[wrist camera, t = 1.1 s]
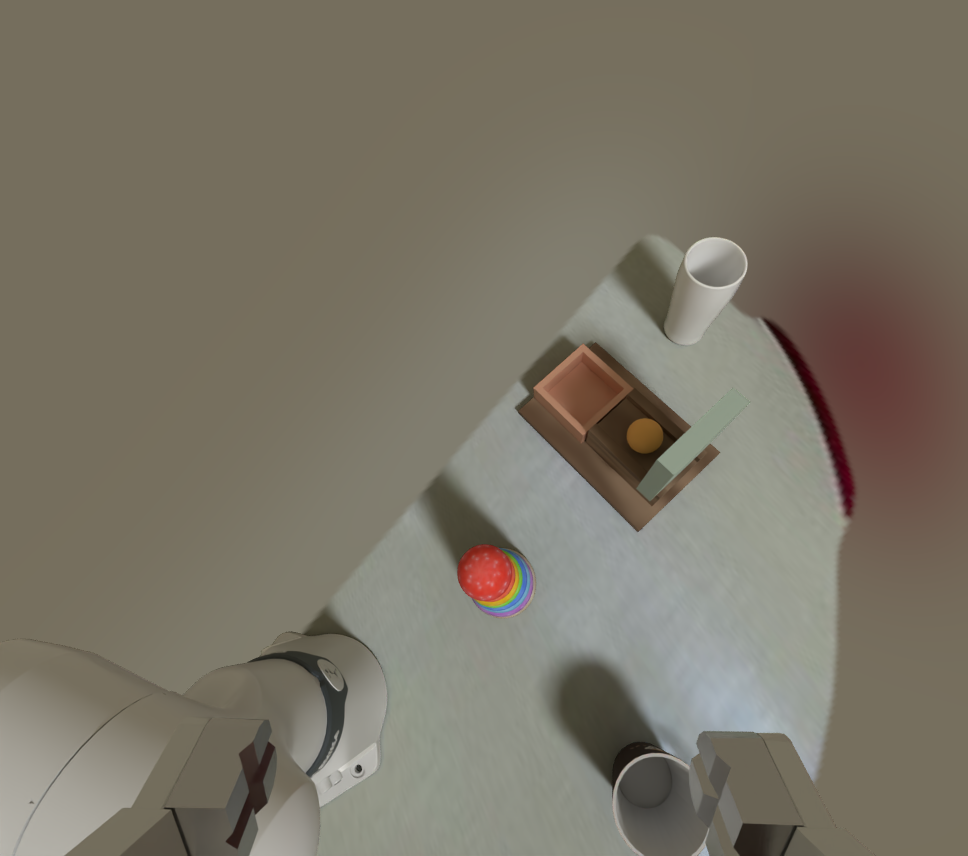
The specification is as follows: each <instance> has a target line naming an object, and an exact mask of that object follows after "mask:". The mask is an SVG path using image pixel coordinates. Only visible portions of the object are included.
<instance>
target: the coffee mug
mask: <svg viewBox="0 0 968 856" xmlns="http://www.w3.org/2000/svg"><path fill="white" fill-rule="evenodd" d="M689 769H690V766H689V765H687V764H686V763H685V762H683V761H682V760H680V759H678V758H676V757H675V756H673V755H671V754H669V753H667V752H665V751H663V750H661V749H660V748H658V747H656V746H654V745H652V744H649V743H645V742H636V743H632V744H630V745H627V746H626V747H624V748H623V749H622V750H621V751H620V752H619V754H618V755H617V757H616V759H615V762H614V766H613V791H612V804H613V814H614V818H615V822H616V825H617V828H618V830H619V832H620V834H621V836H622V838H623V839H624V841H625V842H626V844H627V845H628V846H629V847H630V848H631V849H632V850H633V851H634V852H635V853H636V854H637V855H639V856H698V855H699V854H700V852H701V851H702V850H703V849H704V847H705V846H706V843H705V841H706V838H707V835H708V832H709V828H708V827H707V826H706V824H705V823H704V822H703V821H702V820H701V819H700V818H699V817H698V816H697V814H696V811H695V808H694V805H693V801H692V797H691V792H690V787H689Z"/></svg>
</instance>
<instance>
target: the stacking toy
mask: <svg viewBox="0 0 968 856" xmlns="http://www.w3.org/2000/svg"><path fill="white" fill-rule="evenodd" d="M457 575H458V581H459V584H460V586H461V588H462V589H463V591H464V592H465V593H466V594H467V595H468V596H470V597H471V598H472V599H473V601H474V603H475V604H476V605H477V606H478V608H480V609H481V610H482V611H483V612H484V613H486V614H488V615H490V616H493V617H496V618H510V617H514V616H516V615H518V614H520V613H521V612H523V611H524V610H525V609H526V608H527V607H528V606H529V604H530V603H531V601H532V599H533V597H534V595H535V590H536V577H535V573H534V570H533V568H532V566H531V564H530V563H529V561H528V560H527V559H526V558H525V557H524V556H523V555H521V554H520V553H518V552H517V551H514V550H512V549H507V548H497V547H495V546H492V545H487V544H482V545H477V546H475V547H472V548H471V549H469V550H468V551H467V552H466V553H465V554H464V555H463V556H462V558H461V560H460V562H459V565H458V571H457Z"/></svg>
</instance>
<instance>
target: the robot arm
mask: <svg viewBox="0 0 968 856" xmlns="http://www.w3.org/2000/svg"><path fill="white" fill-rule="evenodd" d="M386 708H387V688H386V682H385V678H384V675H383V672H382V669H381V667H380V665H379V663H378V661H377V660H376V658H375V657H374V655H373V654H372V653H371V652H370V651H369V650H368V649H367V648H366V647H365V646H364V645H363V644H361V643H360V642H358V641H357V640H355V639H353V638H350V637H347V636H344V635H339V634H323V635H317V636H306V635H303V634H300V633H296V632H286V633H282V634H281V635H279V636H278V637H277V639H276V640H275V641H274V642H273V644H272V645H271V646H268V647H266V648H264V649H263V650H262V651H261V656H260V657H258V658H255V659H253V660H251V661H249V662H247V663H244V664H237V665H232V666H227V667H222V668H219V669H216V670H214V671H211V672H210V673H208V674H206V675H204V676H203V677H201V678H200V679H199V680H198V681H197V682H195V683H194V684H193V685H192V686H191V687H190V688H189V689H188V690H187V691H186V692H185V693H184V694H183V695H180V694H178V693H176V692H173V691H168V690H166V689H164V688H162V687H160V686H158V685H156V684H154V683H152V682H150V681H148V680H146V679H144V678H142V677H140V676H138V675H136V674H134V673H132V672H130V671H129V670H126V669H125V668H123V667H121V666H119V665H117V664H114V663H113V662H111V661H109V660H107V659H105V658H103V657H101V656H99V655H97V654H95V653H91V652H88V651H83V650H79V649H75V648H71V647H67V646H63V645H57V644H52V643H47V642H41V641H36V640H31V639H13V640H8V641H4V642H0V856H316V854H317V849H318V844H319V836H320V807H322V806H323V805H325V804H327V803H328V802H330V801H331V800H333V799H334V798H336V797H337V796H339V795H341V794H342V793H344V792H345V791H347V790H348V789H350V788H352V787H353V786H355V785H356V784H358V783H359V782H361V781H362V780H364V779H366V778H367V777H369V776H370V775H372V774H373V773H375V772H376V771H377V770H378V768H379V766H380V761H381V749H380V733H381V729H382V725H383V722H384V718H385V714H386ZM696 744H697V747H698V749H699V752H700V753H699V754H698V755H696V756H695V757H694V758H692V760H691V764H690V769H689V787H690V792H691V797H692V801H693V805H694V808H695V811H696V814H697V816H698V817H699V818H700V819H701V820H702V821H703V822H704V823H705V824H706V826H707V827H708V828H709V832H708V835H707V838H706V841H705V843H706V846H707V849H708V852H709V855H710V856H876V855H875V854H874V853H872V852H871V851H870V850H869V849H868V848H867V847H866V846H865V845H863V844H862V843H861V842H860V841H859V840H858V839H857V838H856V837H855V836H853V835H852V834H851V833H850V832H849V831H848V830H847V829H845V828H837V827H836V825H835V824H834V821H833V820H832V818H831V816H830V814H829V812H828V810H827V808H826V806H825V804H824V803H823V801H822V799H821V797H820V795H819V793H818V791H817V789H816V788H815V786H814V784H813V782H812V780H811V778H810V776H809V774H808V772H807V770H806V769H805V767H804V765H803V763H802V761H801V759H800V757H799V755H798V753H797V752H796V750H795V748H794V746H793V744H792V742H791V740H790V739H789V738H788V737H787V736H786V735H785V734H782V733H754V732H722V731H703V732H702V733H701V734H699V737H698V740H697V743H696ZM357 765H361V766H362V771H361V772H359V771H358V770H357Z"/></svg>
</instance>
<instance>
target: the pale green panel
mask: <svg viewBox="0 0 968 856" xmlns="http://www.w3.org/2000/svg"><path fill="white" fill-rule="evenodd" d="M749 403H750V401H749V400H748V399H746V398H745V397H744V396H743V395H742V394H740V393H739V392H738V391H737V390H736V389H734V388H732V389H731V390H730V391H729V392H728V393H727V394H726V395H725V396H724V397H723V398H721V399H720V400H719V401H718V402H717V403H716V404H715V405H714V406H713V407H712V408H711V409H710V410H709V411H708V412H707V413H706V414H705V415H704V416H702V417H701V418H700V419H699V420H698V421H697V422H696V423H695V424H694V425H693V426H692V427H691V428H690V429H689V430H688V431H687V432H686V433H685V434H683V435H682V436H681V437H680V438H679V439H678V440H677V441H676V442H675V443H674V444H673V445H672V446H671V447H670V448H669V449H668V450H667V451H666V452H664V453H663V454H662V455H661V456H660V457H659V458H658V459H657V460H656V462H655V463H654V464H653V466H652V467H651V469H650V470H649V471H648V473H647V474H646V476H645V477H644V478H643V480H642V481H641V482H640V484H639V485H638V487H637V488H636V489H637V490H638V491H639V492H640V493H641V494H642V495H643V496H644V497H646V498H647V499H648V500H649V501H651V500H652V499H653V498H654V497H655V496H656V495H657V494H658V493H659V492H660V491H661V490H662V489H663V488H664V487H666V486H667V485H668V484H669V483H670V482H671V481H672V480H673V479H674V478H675V477H676V476H677V475H678V474H679V473H680V472H681V471H682V470H683V469H684V468H685V467H686V466H688V465H689V464H690V463H691V462H692V461H693V460H694V459H695V458H696V457H697V456H698V455H699V454H700V453H701V452H702V451H703V450H704V449H705V448H706V447H707V446H708V445H709V444H710V443H711V442H712V441H713V440H714V439H715V438H716V437H717V436H718V435H719V434H720V433H721V432H722V431H723V430H724V429H725V428H726V427H727V426H728V425H729V424H730V423H731V422H732V421H733V420H734V419H735V418H736V417H737V416H738V415H739V414H740V412H741V411H742V410H743V409H744V408H745V407H746V406H747V405H748V404H749Z"/></svg>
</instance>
